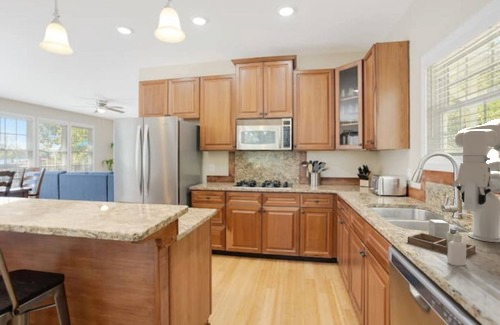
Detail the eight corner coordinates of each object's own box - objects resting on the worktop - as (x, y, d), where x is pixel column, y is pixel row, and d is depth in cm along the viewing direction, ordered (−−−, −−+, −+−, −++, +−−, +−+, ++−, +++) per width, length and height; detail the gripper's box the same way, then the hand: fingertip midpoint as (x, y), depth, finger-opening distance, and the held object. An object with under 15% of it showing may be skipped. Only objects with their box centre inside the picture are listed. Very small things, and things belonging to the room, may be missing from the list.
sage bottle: (449, 247, 110) (450, 227, 110) (462, 251, 107) (462, 230, 106) (444, 249, 108) (445, 228, 108) (457, 253, 104) (457, 231, 104)
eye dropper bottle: (445, 260, 98) (446, 228, 97) (464, 263, 95) (465, 230, 95) (448, 264, 94) (449, 231, 93) (468, 267, 91) (469, 234, 91)
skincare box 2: (473, 208, 113) (474, 180, 112) (484, 210, 109) (485, 182, 108) (463, 209, 111) (464, 181, 110) (474, 211, 107) (475, 182, 106)
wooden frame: (421, 237, 123) (421, 232, 123) (475, 252, 106) (475, 246, 106) (407, 242, 117) (407, 236, 117) (462, 258, 100) (462, 251, 100)
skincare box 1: (428, 233, 130) (428, 219, 129) (441, 234, 129) (442, 219, 128) (434, 237, 124) (435, 222, 123) (449, 238, 123) (449, 223, 122)
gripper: (505, 160, 103) (503, 205, 104) (454, 159, 118) (453, 198, 119) (497, 160, 100) (496, 207, 100) (446, 159, 114) (445, 200, 115)
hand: (473, 202), depth 110 cm, fingers closed on skincare box 2, 5 cm apart
